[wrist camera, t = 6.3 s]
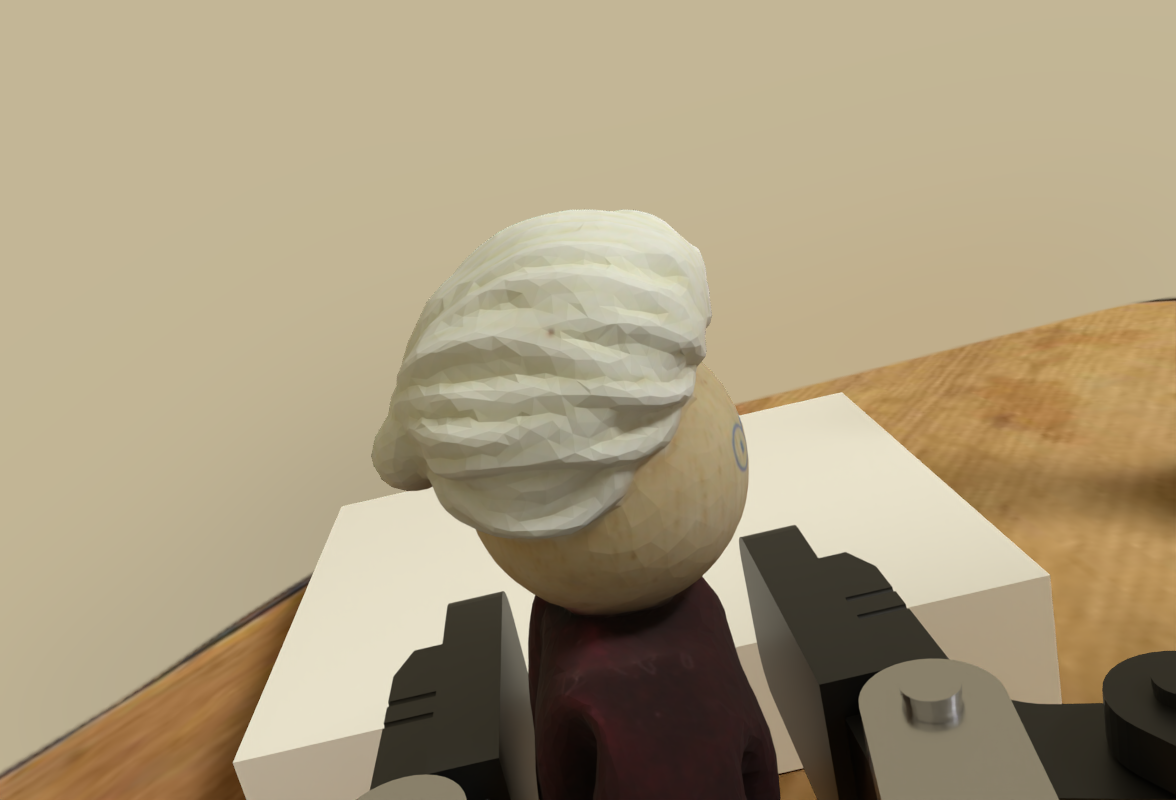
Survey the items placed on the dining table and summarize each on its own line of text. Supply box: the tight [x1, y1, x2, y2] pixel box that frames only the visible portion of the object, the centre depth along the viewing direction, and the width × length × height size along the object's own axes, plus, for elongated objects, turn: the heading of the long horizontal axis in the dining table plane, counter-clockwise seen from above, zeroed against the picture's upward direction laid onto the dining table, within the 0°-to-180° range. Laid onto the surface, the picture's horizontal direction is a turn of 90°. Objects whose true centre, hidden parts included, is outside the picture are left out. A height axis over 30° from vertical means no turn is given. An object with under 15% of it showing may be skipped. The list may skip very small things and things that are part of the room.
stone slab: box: [233, 392, 1062, 800], centre depth 26 cm, size 16×13×3 cm
